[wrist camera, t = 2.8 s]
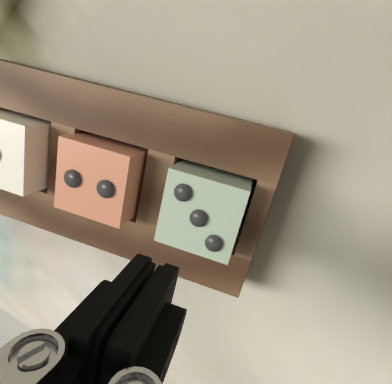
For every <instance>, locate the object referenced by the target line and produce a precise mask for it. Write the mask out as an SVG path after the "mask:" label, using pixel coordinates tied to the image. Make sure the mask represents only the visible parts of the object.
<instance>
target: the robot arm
mask: <svg viewBox="0 0 392 384" xmlns="http://www.w3.org/2000/svg"><path fill="white" fill-rule="evenodd" d="M155 266H156V264H155V263H153V262H152V258H151V257H148V256H145V255H142V254H139V253H138V254H137V255H136V256H135V257H134V258H133V259H132V260H131V261H130V262H129V263H128V264H127V266H126V267H125V268H124V269H123V270H122V271H121V272H120V273H119V275H118V276H117V277H116V278H115V279H114V280H113V281H112V282H110V281H107V280H103V281H102V282H101V283H100V284H99V285H98V286H97V287H96V288H95V289H94V290H93V291H92V292H91V293H90V294H89V295H88V296H87V297H86V298H85V299H84V300H83V301H82V302H81V303H80V304H79V305H78V307H77V308H76V309H75V310H74V311H73V312H72V313H71V314H70V315H69V316H68V317H67V318H66V319H65V320H64V321H63V322H62V323H61V324H60V325H59V326H58V327H57V328H56V329H55V330H54V331H53V330H50V329H35V330H30V331H28V332H25V333H22V334H20V335H19V336H17V337H15V338H14V339H12V340H11V341H10V342H8V343H7V344H5V345H4V346H3V347H1V348H0V384H163V381H164V378H165V375H166V373H167V370H168V367H169V365H170V362H171V359H172V356H173V354H174V351H175V348H176V345H177V342H178V339H179V336H180V333H181V330H182V326H183V323H184V319H185V315H186V311H187V309H184V308H181V307H179V306H176V305H173V304H171V302H172V298H173V294H174V290H175V286H176V282H177V278H178V274H179V269H180V268H179V267H177V266H174V265H171V264H168V263H165V264H164V266H162V265H158V267H157V268H156V270H155Z"/></svg>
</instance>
